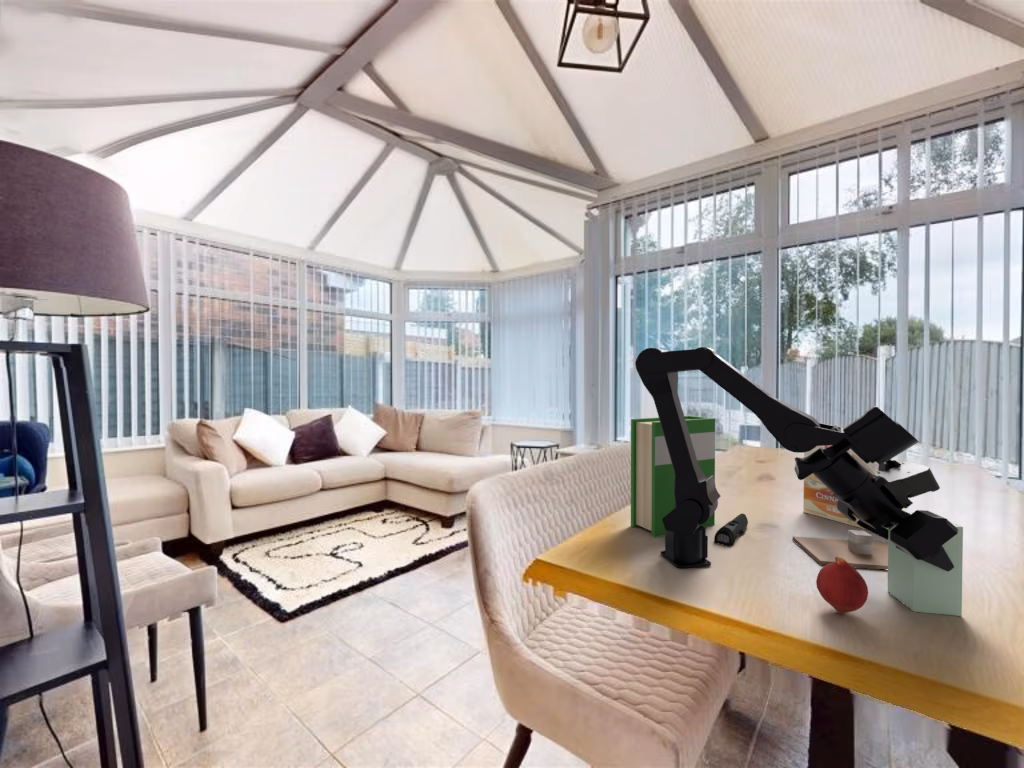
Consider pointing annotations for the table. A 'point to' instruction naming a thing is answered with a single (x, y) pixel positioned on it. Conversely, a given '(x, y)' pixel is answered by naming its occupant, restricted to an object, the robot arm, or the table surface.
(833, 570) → the onion
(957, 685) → the table surface
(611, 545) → the table surface
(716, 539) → the electric trimmer
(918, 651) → the table surface
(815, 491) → the coffeecake box
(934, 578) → the mint green prism
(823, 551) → the brown board
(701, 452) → the hardback book
